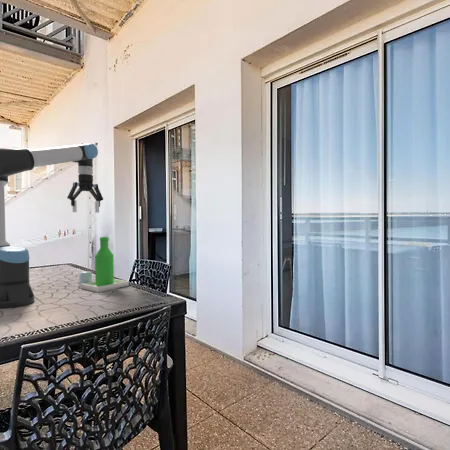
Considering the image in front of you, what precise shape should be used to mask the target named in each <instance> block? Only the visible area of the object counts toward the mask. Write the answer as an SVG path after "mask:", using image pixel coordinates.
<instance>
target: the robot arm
mask: <svg viewBox="0 0 450 450" xmlns="http://www.w3.org/2000/svg"><path fill="white" fill-rule="evenodd" d="M98 154H99V150H98V148H97V146H96V144H93V143H83V144H77V145H76V144H74V145H60V146H56V147H45V148H36V149H35V148H34V149H29V148H27V147H20V148H17V147H15V148H12V147H11V148H10V147H9V148H7V147H6V148H5V147H4V148H3V147H0V309H9V308H17V307H18V308H19V307H22V306H27V305H31V304H32V303H34V302H35V294H34V291H33V288H32V287H31V284H30V254H29V250H28V248H25V247H23V246H13V245H12V246H11V245H10V243H9V242H8V241H7V240H6V239H7V238H6V237H7V236H6V211H5V210H6V208H5V207H6V203H5V202H6V201H5V187H6V185H7V184H8V183H9V177H10V176H13V175H16V174H19V173H24V172H28V171H32V170H34V168H39V167H45V166H51V165H57V164H64V163H69V162H70V163H72V162H73V163H77V165H78V166H77V167H78V169H77V170H78V171H77V172H78V175H77V177H78V182H77V181H73V183H72V187H71V189H70V191H69V193H68V195H67V197H66V198H67V200H70V206H71V207H72V213H77V211H78V210H77V208H78V207H77V205H78V204H77V200H76V199H77V197H79V195H80V194H81V193H82V192H88V193H90V194H91V195H92V198H94V200H95V201H94V212H95V213H96V214H97V213H100V207H101V202H102V201H103V200H104V197H103V195H102V193H101V190H100V188H99V184H98V183H93V182H94V173H93V172H94V169H93V168H94V160H93V159H96V158H97V156H98ZM77 188H78V189H77Z"/></svg>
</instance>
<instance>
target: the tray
mask: <svg viewBox="0 0 450 450" xmlns="http://www.w3.org/2000/svg"><path fill="white" fill-rule="evenodd" d="M129 284H130V281H129V280H123V279H118V278H114V284H110V285H105V286H99V287H98V286H96V280H94V281H92V282H87V283H82V284H80V286H79V287H80V289H81V290H86V291H89V292H94V293H102V292H106V291H110V290H111V291H112V290H116V289H120V287H121V288H125V287H129Z"/></svg>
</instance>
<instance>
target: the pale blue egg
mask: <svg viewBox="0 0 450 450" xmlns="http://www.w3.org/2000/svg"><path fill="white" fill-rule="evenodd" d="M92 274H93V273H92V271H80V272H79V273H78V277H79V279H78V282H79V285H78V286H79V287H80V284H82V283H87V282H93V281H92V280H93V279H92V278H93V277H92Z"/></svg>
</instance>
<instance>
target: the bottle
mask: <svg viewBox="0 0 450 450" xmlns="http://www.w3.org/2000/svg"><path fill="white" fill-rule="evenodd" d="M99 241H100V243H99V245H100V246H99V249H98V251H97V252H96V254H95V256H94V257H95V258H94V265H95V266H94V269H95V278H94V279H95V280H94V281H96V286H98V287H99V286H105V285H110V284H114V279H115V278H114V275H115V274H114V267H115V266H114V254H113V252H112V251H111V249H110V248H109V237H108V236H100V237H99Z"/></svg>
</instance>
